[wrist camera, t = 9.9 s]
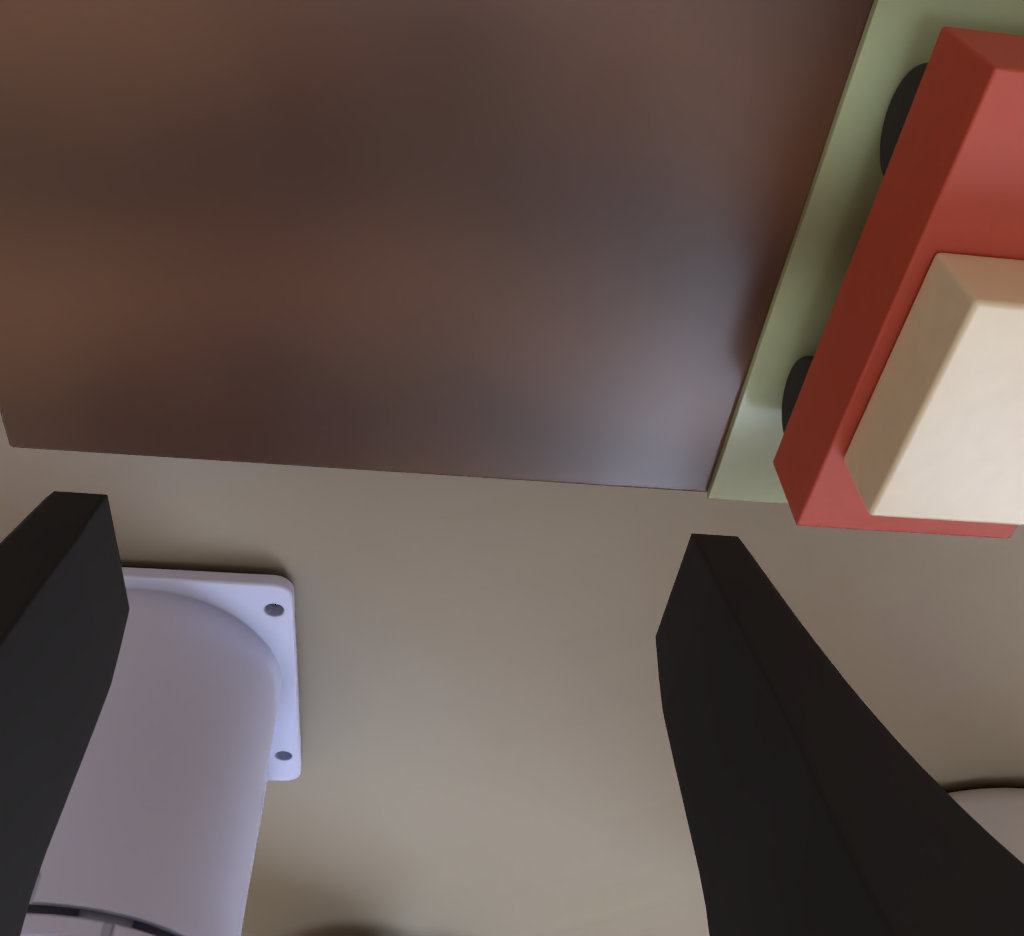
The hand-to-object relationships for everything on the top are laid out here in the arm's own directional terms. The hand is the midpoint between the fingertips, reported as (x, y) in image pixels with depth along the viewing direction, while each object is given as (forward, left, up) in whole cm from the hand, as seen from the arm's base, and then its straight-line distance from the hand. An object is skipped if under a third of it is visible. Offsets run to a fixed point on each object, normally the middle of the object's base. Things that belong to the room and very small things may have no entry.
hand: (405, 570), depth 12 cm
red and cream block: (+1, -10, -8) cm, 13 cm away
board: (+1, -2, -9) cm, 10 cm away
